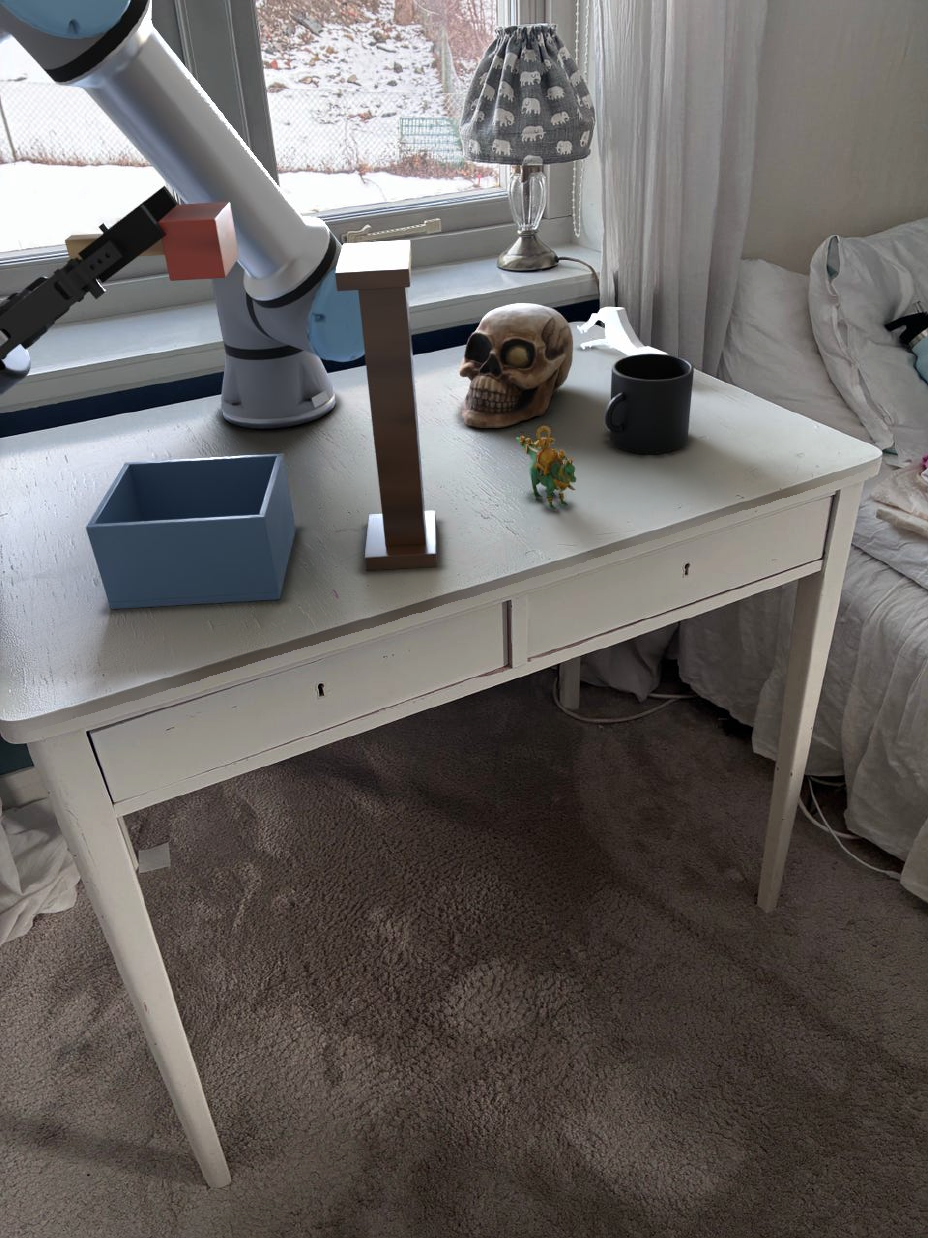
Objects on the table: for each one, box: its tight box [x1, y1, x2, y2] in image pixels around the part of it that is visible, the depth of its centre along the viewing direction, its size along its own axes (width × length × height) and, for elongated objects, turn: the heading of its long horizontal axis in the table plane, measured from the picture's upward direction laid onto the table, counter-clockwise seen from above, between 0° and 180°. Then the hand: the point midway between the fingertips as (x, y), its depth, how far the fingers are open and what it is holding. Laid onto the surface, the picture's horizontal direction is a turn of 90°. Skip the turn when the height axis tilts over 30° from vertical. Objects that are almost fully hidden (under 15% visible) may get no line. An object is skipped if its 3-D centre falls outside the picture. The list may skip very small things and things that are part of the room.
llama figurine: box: [576, 306, 669, 356], centre depth 137 cm, size 2×11×18 cm
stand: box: [335, 239, 438, 571], centre depth 89 cm, size 10×7×28 cm
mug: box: [604, 353, 695, 455], centre depth 113 cm, size 9×12×9 cm
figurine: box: [516, 425, 577, 510], centre depth 103 cm, size 3×12×8 cm, turn 27°
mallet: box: [64, 202, 239, 282], centre depth 79 cm, size 7×13×4 cm, turn 92°
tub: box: [85, 452, 296, 610], centre depth 93 cm, size 14×16×9 cm
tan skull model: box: [458, 302, 574, 429], centre depth 125 cm, size 16×17×13 cm
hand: (164, 210), depth 77 cm, fingers closed on mallet, 7 cm apart
